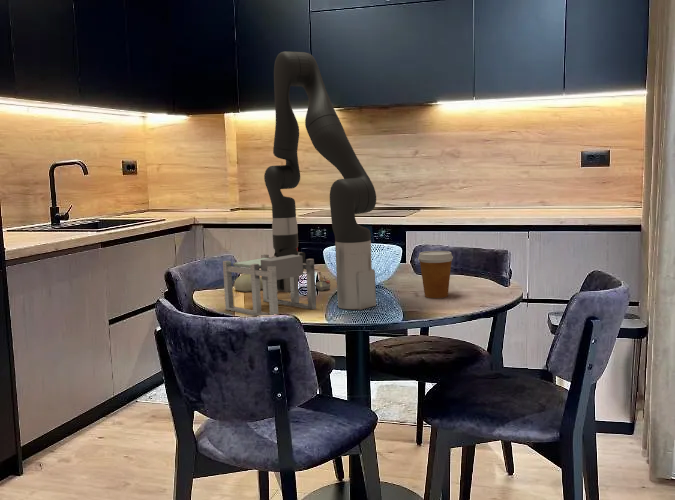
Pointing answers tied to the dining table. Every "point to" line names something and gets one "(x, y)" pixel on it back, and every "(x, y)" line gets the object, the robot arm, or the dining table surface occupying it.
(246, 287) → the sea urchin shell
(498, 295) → the dining table surface
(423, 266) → the disposable coffee cup
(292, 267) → the trapdoor
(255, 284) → the frame
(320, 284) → the figurine
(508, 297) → the dining table surface
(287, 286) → the basalt cube
